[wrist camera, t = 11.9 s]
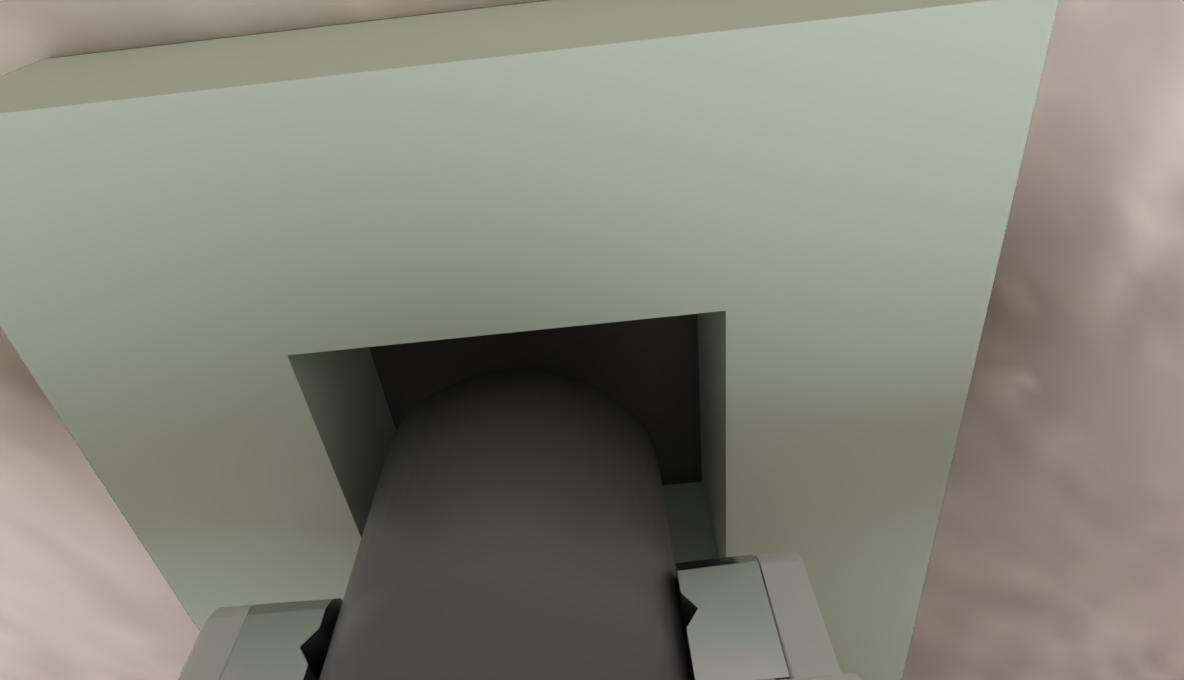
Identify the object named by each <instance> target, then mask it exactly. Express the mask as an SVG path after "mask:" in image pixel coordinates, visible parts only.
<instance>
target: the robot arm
mask: <svg viewBox="0 0 1184 680" xmlns="http://www.w3.org/2000/svg"><path fill="white" fill-rule="evenodd" d="M675 575H676V584H677V591H678V597H679V604H680V611H681V617H682V624H683V627H684V630H685V635H686V641H687V649H688V662H689V668H690V674H691V680H862V679H861V678H860V677H858V676H857V675H856V674H855V673H847V674H841V671H840V668H839V665H838V662H837V659H836V656H835V653H834V650H833V647H832V645H831V642H830V639H829V636H828V633H827V630H826V627H825V624H824V621H823V618H822V616H821V613H820V610H819V607H818V604H817V601H816V598H815V595H814V592H813V589H812V586H811V584H810V581H809V578H808V575H807V572H806V569H805V566H804V563H803V560H802V558H801V557H800V555H799V554H798V553H797V552H796V551H789V552H780V553H770V554H761V555H755V556H754V555H753V554H751V555H742V556H733V557H724V558H716V559H707V560H698V561H689V562H681V563H675ZM342 602H343V601H342V599H341V598H337V599H323V600H309V601H295V602H281V603H267V604H254V605H243V606H232V607H221V608H217V609H216V610H215V611H214V612H213V613H212V614H211V615H210V616H209V617H208V618H207V620H206V621H205V623H204V625H203V627H202V630H201V632H200V634H199V636H198V638H197V640H196V642H195V644H194V647H193V649H192V651H191V653H190V655H189V657H188V659H187V661H186V664H185V666H184V668H183V670H182V672H181V674H180V676H179V678H178V680H319V679H320V675H321V672H322V669H323V665H324V662H325V659H326V655H327V652H328V649H329V645H330V642H331V639H332V635H333V632H334V629H335V625H336V622H337V619H338V615H339V612H340V608H341V605H342Z"/></svg>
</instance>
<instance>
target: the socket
mask: <svg viewBox="0 0 1184 680" xmlns="http://www.w3.org/2000/svg"><path fill="white" fill-rule="evenodd" d="M1058 2H1059V0H547V1H539V2H530V3H522V4H513V5H504V6H496V7H487V8H479V9H470V10H461V11H453V12H444V13H436V14H427V15H418V16H410V17H401V18H392V19H384V20H375V21H367V22H358V23H349V24H341V25H332V26H324V27H315V28H306V29H298V30H289V31H281V32H272V33H263V34H255V35H246V36H238V37H229V38H220V39H212V40H203V41H195V42H186V43H177V44H169V45H160V46H152V47H143V48H134V49H126V50H117V51H109V52H100V53H91V54H83V55H74V56H66V57H57V58H48V59H43V60H40V61H38V62H35V63H33V64H30V65H28V66H25V67H23V68H20V69H18V70H15V71H13V72H10V73H7V74H5V75H2V76H0V327H1V329H2V330H3V332H4V333H5V335H6V336H7V338H8V339H9V341H10V342H11V344H12V346H13V347H14V349H15V350H16V352H17V353H18V355H19V356H20V358H21V359H22V361H23V362H24V364H25V365H26V367H27V368H28V370H29V372H30V373H31V375H32V376H33V378H34V379H35V381H36V382H37V384H38V385H39V387H40V388H41V390H42V391H43V393H44V394H45V396H46V398H47V399H48V401H49V402H50V404H51V405H52V407H53V408H54V410H55V411H56V413H57V414H58V416H59V417H60V419H61V420H62V422H63V423H64V425H65V427H66V428H67V430H68V431H69V433H70V434H71V436H72V437H73V439H74V440H75V442H76V443H77V445H78V446H79V448H80V449H81V451H82V453H83V454H84V456H85V457H86V459H87V460H88V462H89V463H90V465H91V466H92V468H93V469H94V471H95V472H96V474H97V475H98V477H99V479H100V480H101V482H102V483H103V485H104V486H105V488H106V489H107V491H108V492H109V494H110V495H111V497H112V498H113V500H114V501H115V503H116V504H117V506H118V508H119V509H120V511H121V512H122V514H123V515H124V517H125V518H126V520H127V521H128V523H129V524H130V526H131V527H132V529H133V530H134V532H135V534H136V535H137V537H138V538H139V540H140V541H141V543H142V544H143V546H144V547H145V549H146V550H147V552H148V553H149V555H150V556H151V558H152V560H153V561H154V563H155V564H156V566H157V567H158V569H159V570H160V572H161V573H162V575H163V576H164V578H165V579H166V581H167V582H168V584H169V585H170V587H171V589H172V590H173V592H174V593H175V595H176V596H177V598H178V599H179V601H180V602H181V604H182V605H183V607H184V608H185V610H186V611H187V613H188V615H189V616H190V618H191V619H192V621H193V622H194V624H195V625H196V627H197V628H198V630H199V631H200V632H201V630H202V627H203V625H204V623H205V621H206V620H207V618H208V617H209V616H210V615H211V614H212V613H213V612H214V611H215V610H216V609H217V608H221V607H232V606H243V605H254V604H267V603H281V602H295V601H309V600H323V599H337V598H341V599H342V601H343V598H344V595H345V592H346V588H347V585H348V582H349V578H350V575H351V572H352V568H353V565H354V562H355V558H356V555H357V552H358V548H359V545H360V542H361V538H362V535H363V532H364V528H365V525H366V522H367V518H368V515H369V511H370V508H371V505H372V501H373V498H374V495H375V491H376V488H377V485H378V481H379V478H380V475H381V471H382V468H383V465H384V461H385V458H386V455H387V451H388V448H389V445H390V442H391V440H392V438H393V436H394V433H395V431H396V429H397V428H398V427H399V425H400V424H401V422H402V421H403V420H404V418H405V417H406V416H407V415H408V414H409V413H410V412H411V411H412V410H413V409H414V408H415V407H416V406H417V405H418V404H419V403H421V402H422V401H423V400H425V399H426V398H427V397H429V396H430V395H432V394H434V393H435V392H437V391H439V390H441V389H442V388H444V387H446V386H449V385H451V384H454V383H456V382H458V381H461V380H464V379H468V378H471V377H475V376H478V375H483V374H489V373H495V372H505V371H535V372H544V373H550V374H556V375H561V376H565V377H568V378H572V379H576V380H579V381H581V382H584V383H586V384H589V385H591V386H594V387H596V388H597V389H599V390H601V391H603V392H605V393H607V394H609V395H610V396H612V397H613V398H614V399H616V400H617V401H619V402H620V403H621V404H623V405H624V406H625V407H626V408H627V409H628V410H629V411H630V412H632V413H633V414H634V415H635V416H636V417H637V419H638V420H639V421H640V423H641V424H642V425H643V426H644V428H645V429H646V431H647V433H648V434H649V436H650V438H651V440H652V442H653V444H654V447H655V450H656V453H657V457H658V463H659V469H660V475H661V482H662V488H663V494H664V501H665V507H666V514H667V520H668V526H669V533H670V539H671V545H672V552H673V558H674V565H675V563H681V562H689V561H698V560H707V559H716V558H724V557H733V556H742V555H751V554H753V555H754V556H755V555H761V554H770V553H780V552H789V551H796V552H797V553H798V554H799V555H800V557H801V558H802V560H803V563H804V566H805V569H806V572H807V575H808V578H809V581H810V584H811V586H812V589H813V592H814V595H815V598H816V601H817V604H818V607H819V610H820V613H821V616H822V618H823V621H824V624H825V627H826V630H827V633H828V636H829V639H830V642H831V645H832V647H833V650H834V653H835V656H836V659H837V662H838V665H839V668H840V671H841V674H847V673H855V674H856V675H857V676H858V677H860V678H861V679H862V680H902V676H903V672H904V668H905V663H906V659H907V655H908V651H909V646H910V642H911V638H912V633H913V629H914V625H915V620H916V616H917V612H918V607H919V603H920V599H921V594H922V590H923V586H924V581H925V577H926V573H927V568H928V564H929V560H930V555H931V551H932V547H933V542H934V538H935V534H936V529H937V525H938V521H939V516H940V512H941V508H942V503H943V499H944V495H945V490H946V486H947V482H948V477H949V473H950V469H951V465H952V460H953V456H954V452H955V447H956V443H957V439H958V434H959V430H960V426H961V421H962V417H963V413H964V408H965V404H966V400H967V395H968V391H969V387H970V382H971V378H972V374H973V369H974V365H975V361H976V356H977V352H978V348H979V343H980V339H981V335H982V330H983V326H984V322H985V317H986V313H987V309H988V304H989V300H990V296H991V291H992V287H993V283H994V279H995V274H996V270H997V266H998V261H999V257H1000V253H1001V248H1002V244H1003V240H1004V235H1005V231H1006V227H1007V222H1008V218H1009V214H1010V209H1011V205H1012V201H1013V196H1014V192H1015V188H1016V183H1017V179H1018V175H1019V170H1020V166H1021V162H1022V157H1023V153H1024V149H1025V144H1026V140H1027V136H1028V131H1029V127H1030V123H1031V118H1032V114H1033V110H1034V105H1035V101H1036V97H1037V93H1038V88H1039V84H1040V80H1041V75H1042V71H1043V67H1044V62H1045V58H1046V54H1047V49H1048V45H1049V41H1050V36H1051V32H1052V28H1053V23H1054V19H1055V15H1056V10H1057V6H1058Z"/></svg>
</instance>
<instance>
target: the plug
mask: <svg viewBox="0 0 1184 680" xmlns="http://www.w3.org/2000/svg"><path fill="white" fill-rule="evenodd" d="M319 680H691V674H690V668H689V662H688V649H687V641H686V635H685V630H684V627H683V624H682V617H681V611H680V604H679V597H678V591H677V584H676V575H675V565H674V558H673V552H672V545H671V539H670V533H669V526H668V520H667V514H666V507H665V501H664V494H663V488H662V482H661V475H660V469H659V463H658V457H657V453H656V450H655V447H654V444H653V442H652V440H651V438H650V436H649V434H648V433H647V431H646V429H645V428H644V426H643V425H642V424H641V423H640V421H639V420H638V419H637V417H636V416H635V415H634V414H633V413H632V412H630V411H629V410H628V409H627V408H626V407H625V406H624V405H623V404H621V403H620V402H619V401H617V400H616V399H614V398H613V397H612V396H610V395H609V394H607V393H605V392H603V391H601V390H599V389H597V388H596V387H594V386H591V385H589V384H586V383H584V382H581V381H579V380H576V379H572V378H568V377H565V376H561V375H556V374H550V373H544V372H535V371H505V372H495V373H489V374H483V375H478V376H475V377H471V378H468V379H464V380H461V381H458V382H456V383H454V384H451V385H449V386H446V387H444V388H442V389H441V390H439V391H437V392H435V393H434V394H432V395H430V396H429V397H427V398H426V399H425V400H423V401H422V402H421V403H419V404H418V405H417V406H416V407H415V408H414V409H413V410H412V411H411V412H410V413H409V414H408V415H407V416H406V417H405V418H404V420H403V421H402V422H401V424H400V425H399V427H398V428H397V429H396V431H395V433H394V436H393V438H392V440H391V442H390V445H389V448H388V451H387V455H386V458H385V461H384V465H383V468H382V471H381V475H380V478H379V481H378V485H377V488H376V491H375V495H374V498H373V501H372V505H371V508H370V511H369V515H368V518H367V522H366V525H365V528H364V532H363V535H362V538H361V542H360V545H359V548H358V552H357V555H356V558H355V562H354V565H353V568H352V572H351V575H350V578H349V582H348V585H347V588H346V592H345V595H344V598H343V602H342V605H341V608H340V612H339V615H338V619H337V622H336V625H335V629H334V632H333V635H332V639H331V642H330V645H329V649H328V652H327V655H326V659H325V662H324V665H323V669H322V672H321V675H320V679H319Z"/></svg>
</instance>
